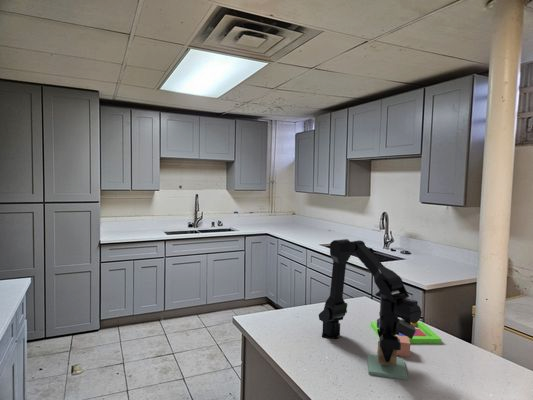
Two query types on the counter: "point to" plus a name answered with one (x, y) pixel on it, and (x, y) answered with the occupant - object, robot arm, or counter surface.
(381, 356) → the walnut brick
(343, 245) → the robot arm
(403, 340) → the salmon pink brick
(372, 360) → the base plate
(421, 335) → the green block puzzle board
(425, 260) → the counter surface
